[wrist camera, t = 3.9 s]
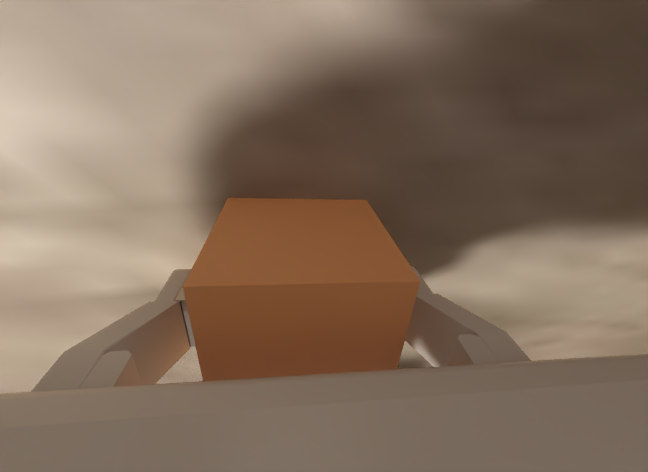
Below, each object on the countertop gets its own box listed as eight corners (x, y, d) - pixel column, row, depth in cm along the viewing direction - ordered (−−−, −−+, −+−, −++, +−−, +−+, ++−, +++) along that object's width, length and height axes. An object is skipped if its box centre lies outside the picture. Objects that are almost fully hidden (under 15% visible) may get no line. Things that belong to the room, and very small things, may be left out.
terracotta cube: (228, 197, 10) (182, 287, 6) (366, 199, 11) (420, 281, 6) (239, 306, 12) (213, 428, 8) (352, 302, 13) (385, 413, 9)
